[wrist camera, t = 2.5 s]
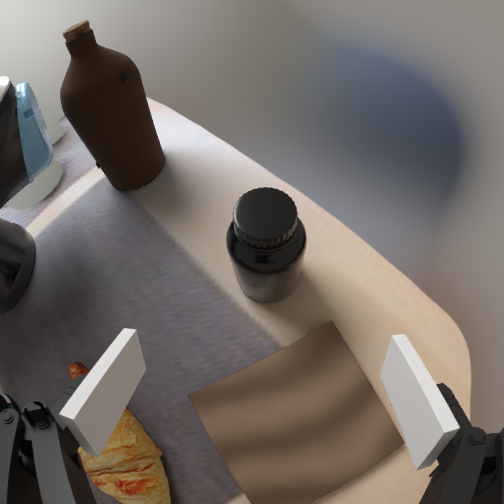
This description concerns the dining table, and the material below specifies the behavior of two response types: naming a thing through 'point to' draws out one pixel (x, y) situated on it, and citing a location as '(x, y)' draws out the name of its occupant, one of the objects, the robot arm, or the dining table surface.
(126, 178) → the olive oil
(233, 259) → the supplement bottle
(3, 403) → the supplement container
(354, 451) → the brown cloth napkin
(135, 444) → the croissant
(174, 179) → the dining table surface
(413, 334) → the dining table surface
